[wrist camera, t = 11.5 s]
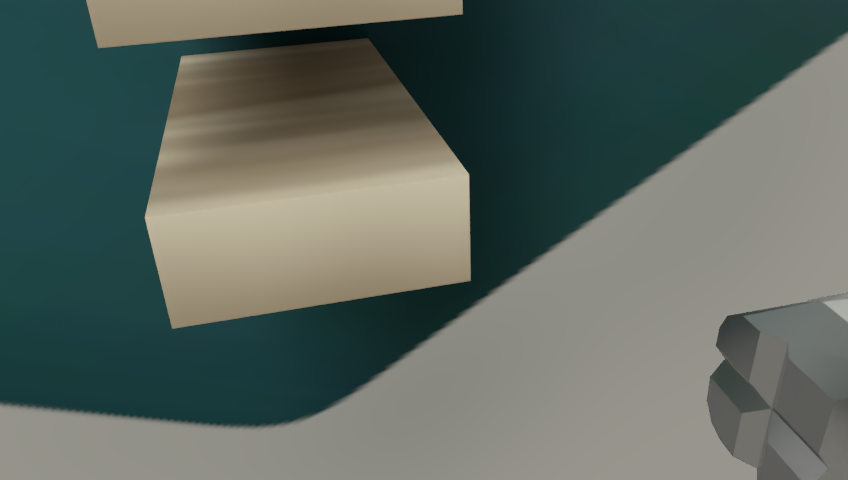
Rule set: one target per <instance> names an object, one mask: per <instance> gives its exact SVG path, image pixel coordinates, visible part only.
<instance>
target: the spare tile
mask: <svg viewBox="0 0 848 480" xmlns="http://www.w3.org/2000/svg"><path fill="white" fill-rule="evenodd" d="M145 220H146V224H147V228H148V233H149V237H150V241H151V245H152V249H153V253H154V257H155V261H156V265H157V269H158V273H159V277H160V281H161V285H162V289H163V293H164V297H165V301H166V305H167V309H168V313H169V318H170V322H171V326H172V329H173V328H179V327H186V326H192V325H198V324H204V323H210V322H217V321H223V320H229V319H235V318H242V317H248V316H254V315H260V314H267V313H273V312H279V311H285V310H291V309H298V308H304V307H310V306H316V305H323V304H329V303H335V302H341V301H348V300H354V299H360V298H366V297H373V296H379V295H385V294H391V293H397V292H404V291H410V290H416V289H422V288H429V287H435V286H441V285H447V284H454V283H460V282H466V281H471V265H470V198H469V173H468V172H467V171H466V169H465V168H464V167H463V165H462V164H461V163H460V161H459V160H458V159H457V157H456V156H455V155H454V153H453V152H452V151H451V149H450V148H449V147H448V145H447V144H446V142H445V141H444V140H443V138H442V137H441V136H440V134H439V133H438V132H437V130H436V129H435V128H434V126H433V125H432V124H431V122H430V121H429V120H428V118H427V117H426V116H425V114H424V113H423V111H422V110H421V109H420V107H419V106H418V105H417V103H416V102H415V101H414V99H413V98H412V97H411V95H410V94H409V93H408V91H407V90H406V89H405V87H404V86H403V85H402V83H401V82H400V80H399V79H398V78H397V76H396V75H395V74H394V72H393V71H392V70H391V68H390V67H389V66H388V64H387V63H386V62H385V60H384V59H383V58H382V56H381V55H380V54H379V52H378V51H377V49H376V48H375V47H374V45H373V44H372V43H371V41H370V40H369V39H368V38H364V39H354V40H343V41H333V42H323V43H312V44H302V45H292V46H281V47H271V48H261V49H250V50H240V51H229V52H219V53H209V54H198V55H188V56H181V61H180V65H179V70H178V74H177V78H176V83H175V87H174V92H173V96H172V100H171V105H170V109H169V114H168V118H167V122H166V127H165V131H164V136H163V140H162V144H161V149H160V153H159V157H158V162H157V166H156V171H155V175H154V179H153V184H152V188H151V193H150V197H149V201H148V206H147V210H146V215H145Z"/></svg>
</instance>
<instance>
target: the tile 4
mask: <svg viewBox="0 0 848 480" xmlns="http://www.w3.org/2000/svg"><path fill="white" fill-rule="evenodd" d="M86 1H87V5H88V9H89V13H90V17H91V21H92V25H93V29H94V33H95V37H96V41H97V45H98V48H104V47H115V46H125V45H136V44H147V43H158V42H169V41H179V40H190V39H201V38H212V37H223V36H233V35H244V34H255V33H266V32H277V31H287V30H298V29H309V28H320V27H331V26H341V25H352V24H363V23H374V22H385V21H395V20H406V19H417V18H428V17H439V16H449V15H460V14H463V1H462V0H86Z"/></svg>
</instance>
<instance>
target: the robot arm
mask: <svg viewBox="0 0 848 480" xmlns="http://www.w3.org/2000/svg"><path fill="white" fill-rule="evenodd" d="M716 346H717V348H718V349H719V351H720V352H721V353H722V355H723V356H724V358H725V360H724V361H723V362H722V363H721V364H720V366H719V367H718V368H717V369H716V370H715V372H714V373H713V374H712V375H711V376H710V382H709V389H708V397H707V402H708V407H709V412H710V417H711V421H712V424H713V426H714V428H715V430H716V432H717V434H718V436H719V438H720V440H721V441H722V443H723V444H724V445H725V447H726V448H727V449H728V451H729V452H730V453H731V454H732V456H734V457H735V458H737V459H739V460H741V461H743V462H745V463H747V464H750V465H751V466H753V467H756V468H757V480H848V292H847V293H842V294H837V295H832V296H827V297H822V298H817V299H812V300H808V301H807V302H802V303H797V304H791V305H785V306H780V307H774V308H768V309H763V310H757V311H752V312H746V313H741V314H735V315H730V316H727V317H726V319H725V320H724V322H723V324H722V325H721V326H720V329H719V334H718V338H717V343H716Z"/></svg>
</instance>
